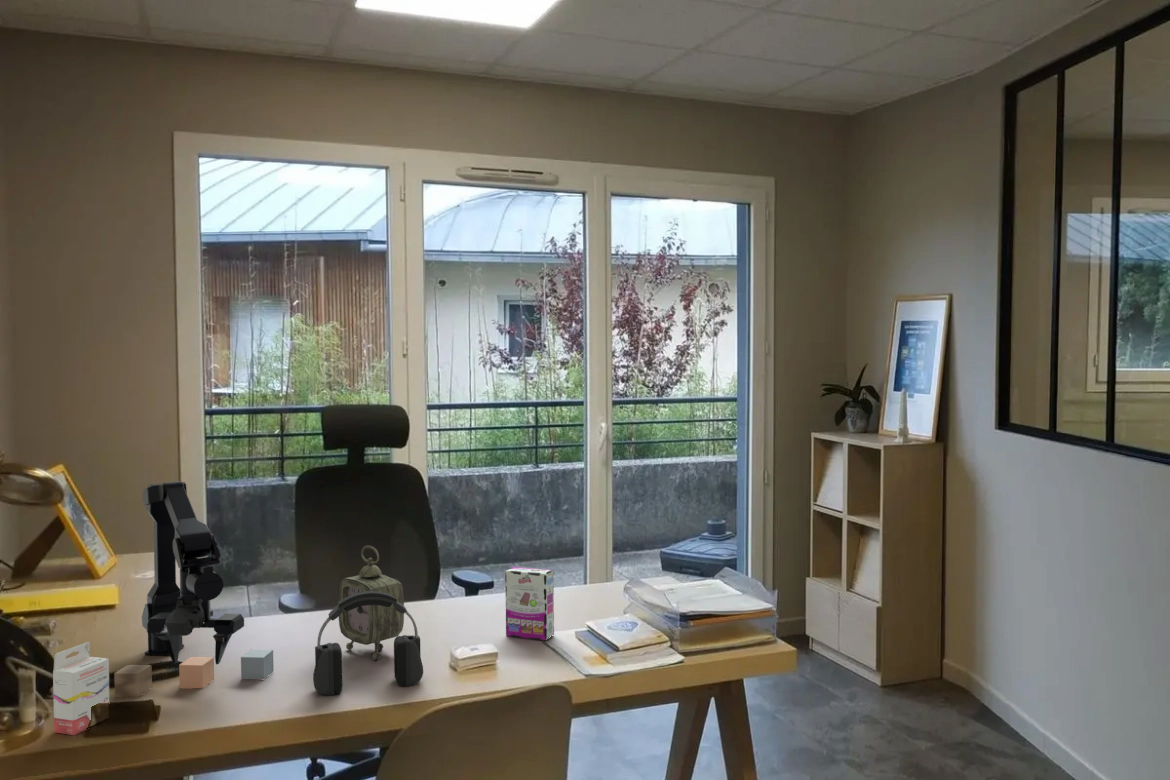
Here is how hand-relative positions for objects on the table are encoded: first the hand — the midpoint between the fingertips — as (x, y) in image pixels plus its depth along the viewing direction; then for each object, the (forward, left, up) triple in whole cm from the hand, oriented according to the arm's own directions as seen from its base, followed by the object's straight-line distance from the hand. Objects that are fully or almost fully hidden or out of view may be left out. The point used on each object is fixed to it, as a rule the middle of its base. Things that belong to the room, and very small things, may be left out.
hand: (196, 663), depth 193 cm
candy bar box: (+66, +36, -5) cm, 75 cm away
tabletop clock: (+31, +22, -5) cm, 38 cm away
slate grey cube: (+11, +5, -4) cm, 13 cm away
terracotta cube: (0, 0, -4) cm, 5 cm away
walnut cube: (-11, -6, -4) cm, 13 cm away
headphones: (+37, +1, -5) cm, 37 cm away
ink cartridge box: (-11, -22, -5) cm, 25 cm away
